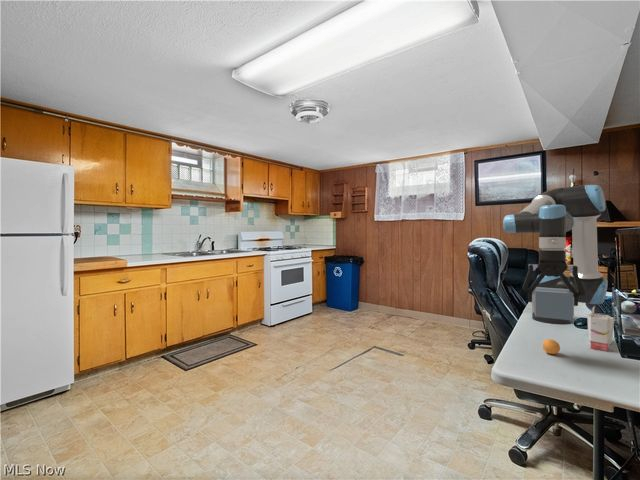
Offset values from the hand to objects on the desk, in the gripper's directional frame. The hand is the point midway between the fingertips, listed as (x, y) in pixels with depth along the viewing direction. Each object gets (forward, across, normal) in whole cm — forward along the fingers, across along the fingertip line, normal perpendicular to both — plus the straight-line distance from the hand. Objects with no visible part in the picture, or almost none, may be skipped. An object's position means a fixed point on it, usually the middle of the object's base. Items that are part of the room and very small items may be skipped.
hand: (552, 313), depth 110 cm
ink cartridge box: (+15, +16, +19) cm, 29 cm away
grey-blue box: (+1, 0, 0) cm, 1 cm away
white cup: (+15, +18, +27) cm, 36 cm away
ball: (+12, 0, +2) cm, 12 cm away
